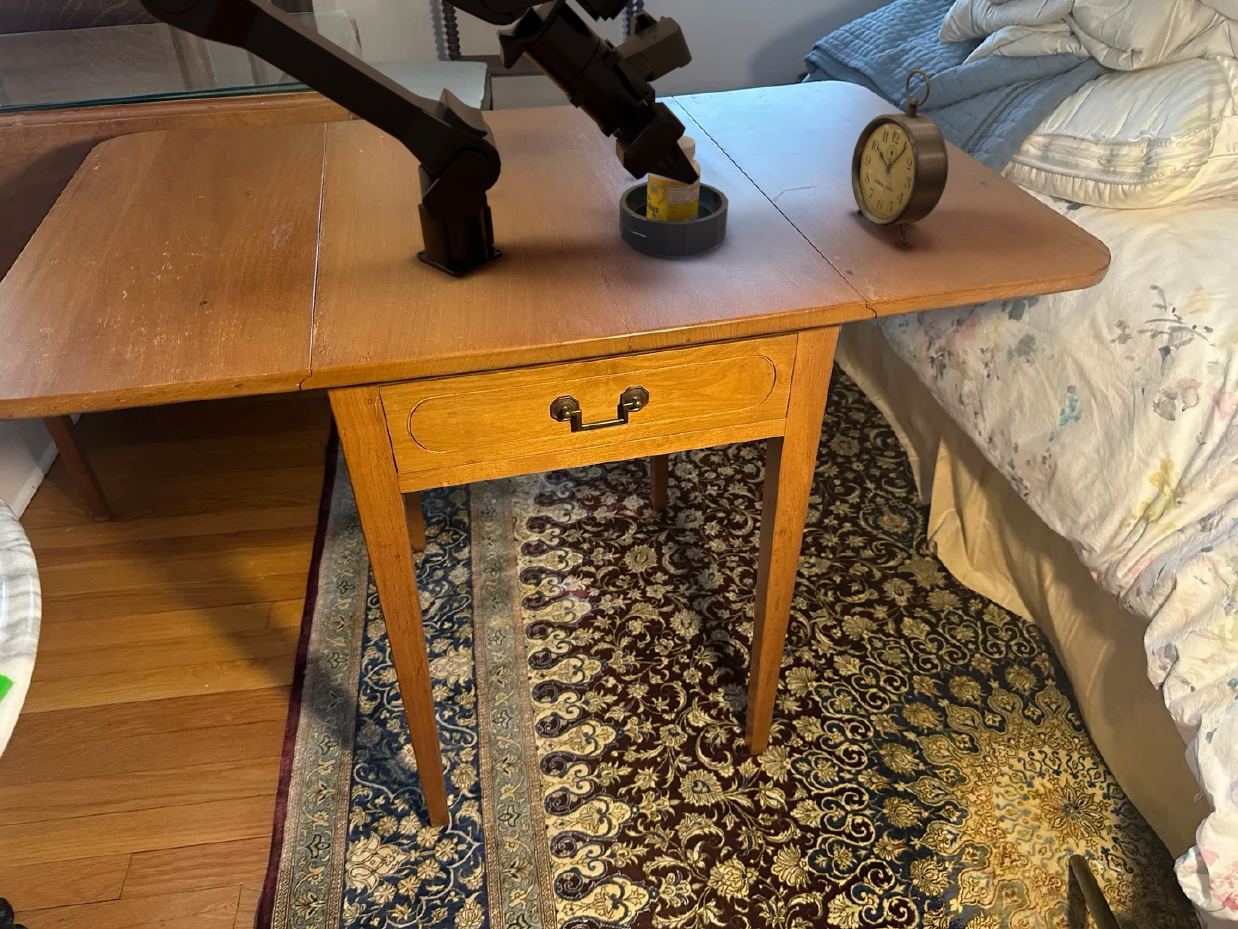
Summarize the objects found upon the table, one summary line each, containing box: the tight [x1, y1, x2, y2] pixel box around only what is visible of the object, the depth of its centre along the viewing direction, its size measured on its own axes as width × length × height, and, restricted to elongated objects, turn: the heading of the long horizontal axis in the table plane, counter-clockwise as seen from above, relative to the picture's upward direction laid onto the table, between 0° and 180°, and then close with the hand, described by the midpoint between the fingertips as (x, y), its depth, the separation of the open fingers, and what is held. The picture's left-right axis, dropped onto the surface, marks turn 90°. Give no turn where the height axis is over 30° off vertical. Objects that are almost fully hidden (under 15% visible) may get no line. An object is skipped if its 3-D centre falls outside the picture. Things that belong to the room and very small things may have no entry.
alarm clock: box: [850, 68, 949, 247], centre depth 88 cm, size 11×5×16 cm, turn 21°
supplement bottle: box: [647, 134, 701, 221], centre depth 89 cm, size 5×5×10 cm
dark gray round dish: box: [618, 181, 729, 258], centre depth 91 cm, size 11×11×4 cm
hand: (687, 169), depth 88 cm, fingers closed on supplement bottle, 5 cm apart
